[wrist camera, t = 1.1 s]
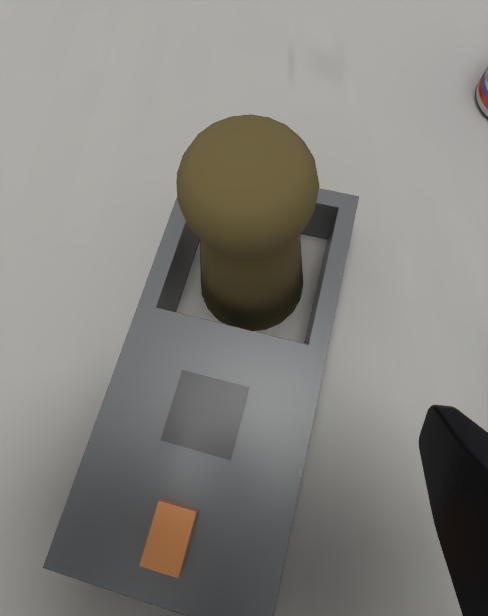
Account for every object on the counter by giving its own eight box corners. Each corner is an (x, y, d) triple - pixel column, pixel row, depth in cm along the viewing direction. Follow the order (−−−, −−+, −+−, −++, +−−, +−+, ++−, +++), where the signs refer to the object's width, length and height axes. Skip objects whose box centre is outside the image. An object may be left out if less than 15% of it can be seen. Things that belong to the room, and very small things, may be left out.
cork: (213, 343, 23) (174, 260, 12) (190, 249, 24) (140, 107, 14) (316, 316, 23) (365, 212, 12) (286, 225, 25) (306, 69, 14)
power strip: (266, 606, 19) (268, 651, 15) (79, 545, 20) (34, 572, 16) (345, 229, 24) (361, 189, 21) (198, 198, 25) (187, 155, 22)
